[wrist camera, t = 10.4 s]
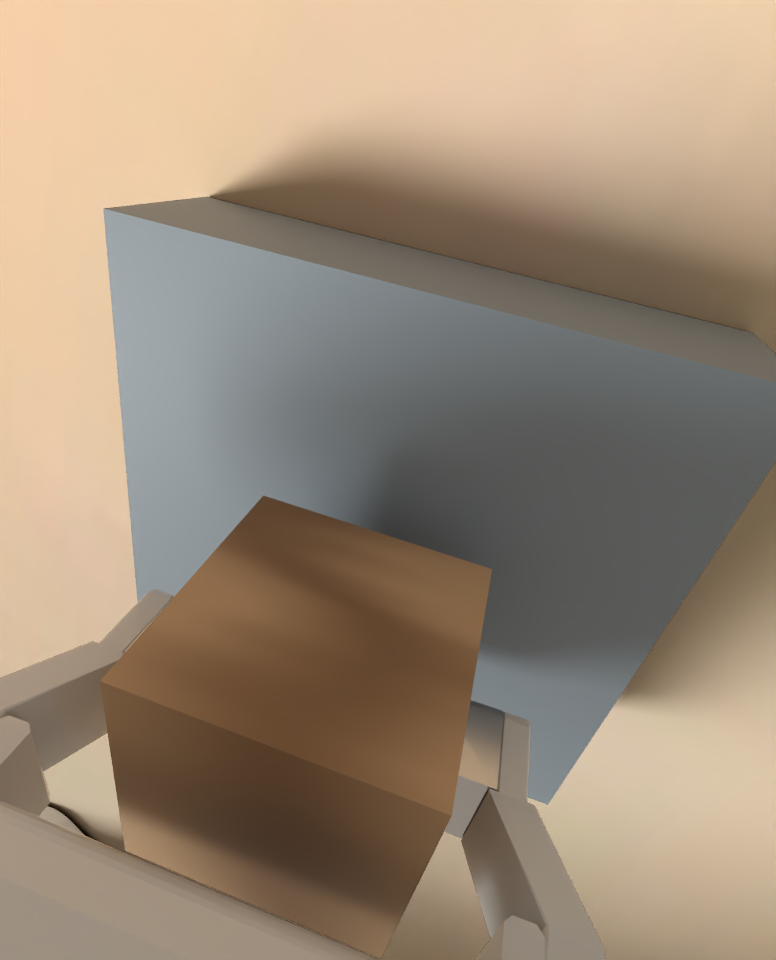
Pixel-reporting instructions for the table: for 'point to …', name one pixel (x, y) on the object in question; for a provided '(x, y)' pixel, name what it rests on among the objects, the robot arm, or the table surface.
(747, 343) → the slate plinth
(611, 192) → the table surface
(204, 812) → the walnut cube
